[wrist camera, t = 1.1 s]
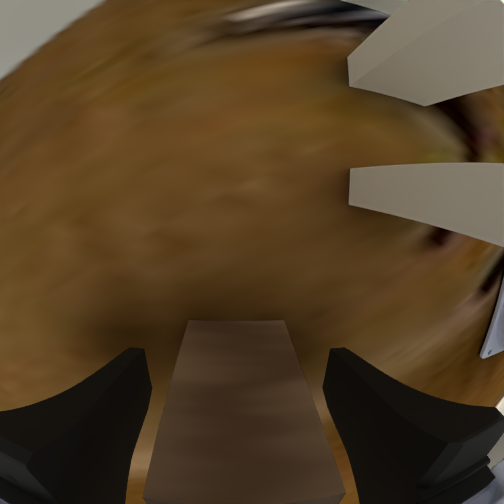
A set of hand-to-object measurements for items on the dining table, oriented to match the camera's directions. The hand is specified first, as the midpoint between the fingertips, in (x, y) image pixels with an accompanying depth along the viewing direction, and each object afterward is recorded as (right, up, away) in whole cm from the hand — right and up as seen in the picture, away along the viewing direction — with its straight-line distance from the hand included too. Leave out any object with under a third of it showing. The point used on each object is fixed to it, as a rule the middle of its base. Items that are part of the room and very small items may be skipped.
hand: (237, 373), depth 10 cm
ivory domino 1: (+7, +13, 0) cm, 15 cm away
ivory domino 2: (+7, +7, +2) cm, 10 cm away
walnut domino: (0, +1, +3) cm, 3 cm away
